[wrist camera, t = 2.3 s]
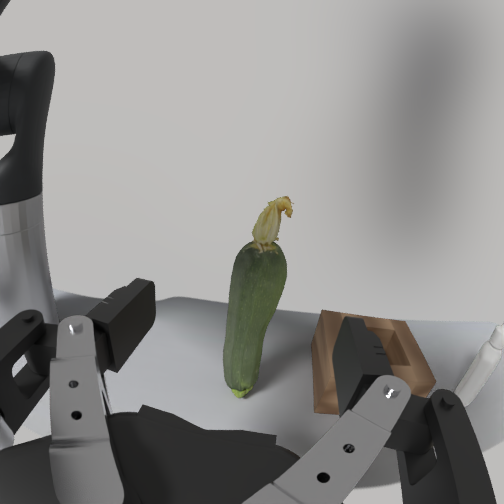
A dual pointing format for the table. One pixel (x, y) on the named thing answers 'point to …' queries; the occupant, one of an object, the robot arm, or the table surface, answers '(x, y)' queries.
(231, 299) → the vegetable
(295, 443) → the table surface
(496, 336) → the eye dropper bottle
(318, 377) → the socket
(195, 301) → the table surface
